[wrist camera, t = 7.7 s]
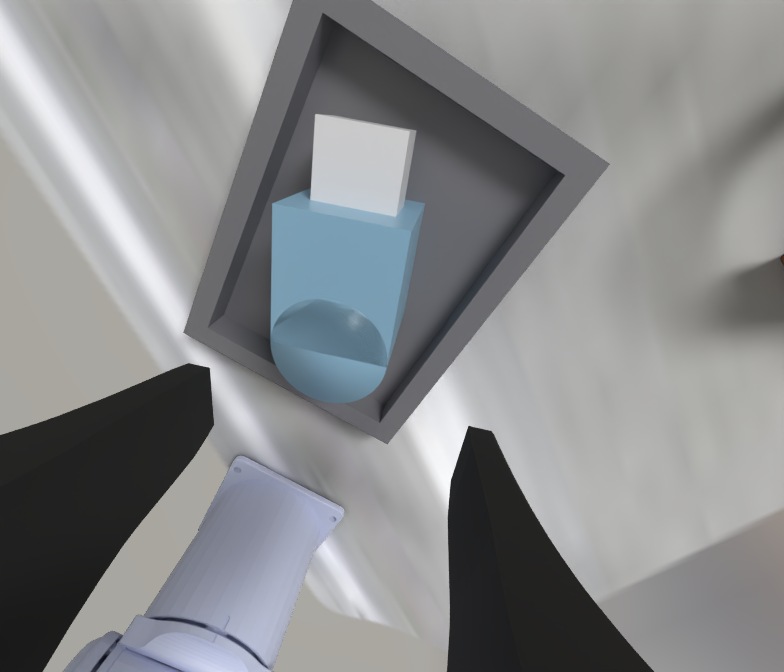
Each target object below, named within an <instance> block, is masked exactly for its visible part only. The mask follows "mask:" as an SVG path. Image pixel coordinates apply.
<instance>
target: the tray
mask: <svg viewBox="0 0 784 672" xmlns="http://www.w3.org/2000/svg"><path fill="white" fill-rule="evenodd" d="M315 114H323V115H334V116H339V117H345V118H350V119H356V120H361V121H367V122H372V123H378V124H383V125H389V126H394V127H399V128H405V129H410V130H416V136H415V142H414V148H413V154H412V160H411V166H410V172H409V178H408V184H407V190H406V196H405V200H411V201H416V202H421V203H425V206H424V212H423V217H422V222H421V227H420V233H419V238H418V243H417V248H416V253H415V259H414V264H413V269H412V274H411V279H410V285H409V290H408V295H407V300H406V306H405V311H404V315H403V318H402V321H401V325H400V328H399V331H398V334H397V337H396V340H395V344H394V347H393V350H392V353H391V356H390V359H389V363H388V366H387V369H386V372H385V375H384V377H383V379H382V381H381V383H380V384H379V386H378V387H377V388H376V389H375V390H374V391H373V392H372V393H370V394H369V395H367V396H366V397H364V398H362V399H359V400H357V401H353V402H348V403H328V402H323V401H319V400H316V399H314V398H311V397H309V396H307V395H305V394H303V393H302V392H300V391H298V390H297V389H296V388H294V387H293V386H292V385H291V384H290V383H289V382H288V381H287V380H286V379H285V378H284V377H283V375H282V374H281V373H280V371H279V369H278V368H277V366H276V364H275V362H274V359H273V356H272V351H271V267H272V203H275V202H277V201H279V200H282V199H284V198H287V197H289V196H292V195H294V194H297V193H299V192H302V191H304V190H307V189H309V188H311V178H312V161H313V143H314V126H315ZM609 165H610V164H609V163H608V162H606V161H605V160H603V159H602V158H600V157H599V156H597V155H596V154H594V153H593V152H592V151H590V150H589V149H587V148H586V147H584V146H583V145H581V144H580V143H578V142H577V141H575V140H574V139H573V138H571V137H570V136H568V135H567V134H565V133H564V132H562V131H561V130H559V129H558V128H557V127H555V126H554V125H552V124H551V123H549V122H548V121H546V120H545V119H543V118H542V117H540V116H539V115H538V114H536V113H535V112H533V111H532V110H530V109H529V108H527V107H526V106H524V105H523V104H521V103H520V102H519V101H517V100H516V99H514V98H513V97H511V96H510V95H508V94H507V93H505V92H504V91H503V90H501V89H500V88H498V87H497V86H495V85H494V84H492V83H491V82H489V81H488V80H486V79H485V78H484V77H482V76H481V75H479V74H478V73H476V72H475V71H473V70H472V69H470V68H469V67H467V66H466V65H465V64H463V63H462V62H460V61H459V60H457V59H456V58H454V57H453V56H451V55H450V54H449V53H447V52H446V51H444V50H443V49H441V48H440V47H438V46H437V45H435V44H434V43H432V42H431V41H430V40H428V39H427V38H425V37H424V36H422V35H421V34H419V33H418V32H416V31H415V30H413V29H412V28H411V27H409V26H408V25H406V24H405V23H403V22H402V21H400V20H399V19H397V18H396V17H394V16H393V15H392V14H390V13H389V12H387V11H386V10H384V9H383V8H381V7H380V6H378V5H377V4H376V3H374V2H373V1H371V0H293V2H292V5H291V8H290V11H289V14H288V17H287V20H286V23H285V26H284V29H283V32H282V35H281V38H280V41H279V44H278V47H277V50H276V53H275V56H274V59H273V62H272V65H271V69H270V72H269V75H268V78H267V81H266V84H265V87H264V90H263V93H262V96H261V99H260V102H259V105H258V108H257V111H256V114H255V117H254V120H253V123H252V126H251V129H250V132H249V135H248V138H247V141H246V144H245V147H244V151H243V154H242V157H241V160H240V163H239V166H238V169H237V172H236V175H235V178H234V181H233V184H232V187H231V190H230V193H229V196H228V199H227V202H226V205H225V208H224V211H223V214H222V217H221V220H220V223H219V226H218V229H217V233H216V236H215V239H214V242H213V245H212V248H211V251H210V254H209V257H208V260H207V263H206V266H205V269H204V272H203V275H202V278H201V281H200V284H199V287H198V290H197V293H196V296H195V299H194V302H193V305H192V308H191V311H190V314H189V318H188V321H187V324H186V327H185V330H184V333H185V334H187V335H188V336H190V337H192V338H194V339H196V340H198V341H199V342H201V343H203V344H205V345H207V346H209V347H210V348H212V349H214V350H216V351H218V352H219V353H221V354H223V355H225V356H227V357H229V358H230V359H232V360H234V361H236V362H238V363H240V364H241V365H243V366H245V367H247V368H249V369H251V370H252V371H254V372H256V373H258V374H260V375H261V376H263V377H265V378H267V379H269V380H271V381H272V382H274V383H276V384H278V385H280V386H282V387H283V388H285V389H287V390H289V391H291V392H293V393H294V394H296V395H298V396H300V397H302V398H303V399H305V400H307V401H309V402H311V403H313V404H314V405H316V406H318V407H320V408H322V409H324V410H325V411H327V412H329V413H331V414H333V415H335V416H336V417H338V418H340V419H342V420H344V421H345V422H347V423H349V424H351V425H353V426H355V427H356V428H358V429H360V430H362V431H364V432H366V433H367V434H369V435H371V436H373V437H375V438H377V439H378V440H380V441H382V442H384V443H386V444H388V443H389V441H390V440H391V439H392V438H393V436H394V435H395V434H396V433H397V431H398V430H399V429H400V428H401V426H402V425H403V424H404V423H405V421H406V420H407V419H408V418H409V416H410V415H411V414H412V413H413V411H414V410H415V409H416V407H417V406H418V405H419V404H420V402H421V401H422V400H423V399H424V397H425V396H426V395H427V394H428V392H429V391H430V390H431V389H432V387H433V386H434V385H435V384H436V382H437V381H438V380H439V379H440V377H441V376H442V375H443V374H444V372H445V371H446V370H447V368H448V367H449V366H450V365H451V363H452V362H453V361H454V360H455V358H456V357H457V356H458V355H459V353H460V352H461V351H462V350H463V348H464V347H465V346H466V345H467V343H468V342H469V341H470V340H471V338H472V337H473V336H474V334H475V333H476V332H477V331H478V329H479V328H480V327H481V326H482V324H483V323H484V322H485V321H486V319H487V318H488V317H489V316H490V314H491V313H492V312H493V311H494V309H495V308H496V307H497V306H498V304H499V303H500V302H501V301H502V299H503V298H504V297H505V295H506V294H507V293H508V292H509V290H510V289H511V288H512V287H513V285H514V284H515V283H516V282H517V280H518V279H519V278H520V277H521V275H522V274H523V273H524V272H525V270H526V269H527V268H528V267H529V265H530V264H531V263H532V262H533V260H534V259H535V258H536V256H537V255H538V254H539V253H540V251H541V250H542V249H543V248H544V246H545V245H546V244H547V243H548V241H549V240H550V239H551V238H552V236H553V235H554V234H555V233H556V231H557V230H558V229H559V228H560V226H561V225H562V224H563V223H564V221H565V220H566V219H567V217H568V216H569V215H570V214H571V212H572V211H573V210H574V209H575V207H576V206H577V205H578V204H579V202H580V201H581V200H582V199H583V197H584V196H585V195H586V194H587V192H588V191H589V190H590V189H591V187H592V186H593V185H594V184H595V182H596V181H597V180H598V178H599V177H600V176H601V175H602V173H603V172H604V171H605V170H606V168H607V167H608V166H609Z"/></svg>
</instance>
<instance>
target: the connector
mask: <svg viewBox="0 0 784 672" xmlns="http://www.w3.org/2000/svg"><path fill="white" fill-rule="evenodd" d="M415 136H416V130H410V129H405V128H399V127H394V126H389V125H383V124H378V123H372V122H367V121H361V120H356V119H350V118H345V117H339V116H334V115H323V114H315V126H314V143H313V161H312V178H311V188H309V189H307V190H304V191H302V192H299V193H297V194H294V195H292V196H289V197H287V198H284V199H282V200H279V201H277V202H275V203H272V267H271V351H272V356H273V359H274V362H275V364H276V366H277V368H278V369H279V371H280V373H281V374H282V375H283V377H284V378H285V379H286V380H287V381H288V382H289V383H290V384H291V385H292V386H293V387H294V388H296V389H297V390H298V391H300V392H302V393H303V394H305V395H307V396H309V397H311V398H314V399H316V400H319V401H323V402H328V403H348V402H353V401H357V400H359V399H362V398H364V397H366V396H367V395H369V394H370V393H372V392H373V391H374V390H375V389H376V388H377V387H378V386H379V384H380V383H381V381H382V379H383V377H384V375H385V372H386V369H387V366H388V363H389V359H390V356H391V353H392V350H393V347H394V344H395V340H396V337H397V334H398V331H399V328H400V325H401V321H402V318H403V315H404V311H405V306H406V300H407V295H408V290H409V285H410V279H411V274H412V269H413V264H414V259H415V253H416V248H417V243H418V238H419V233H420V227H421V222H422V217H423V212H424V206H425V203H421V202H416V201H411V200H405V196H406V190H407V184H408V178H409V172H410V166H411V160H412V154H413V148H414V142H415Z"/></svg>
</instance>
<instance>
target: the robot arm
mask: <svg viewBox="0 0 784 672" xmlns="http://www.w3.org/2000/svg"><path fill="white" fill-rule="evenodd" d="M213 426H214V419H213V406H212V393H211V379H210V368H208V367H203V366H199V365H194V364H190V363H188V364H185V365H183V366H180V367H177V368H175V369H172V370H170V371H167V372H165V373H163V374H160V375H158V376H156V377H153V378H151V379H149V380H146V381H144V382H142V383H139V384H137V385H135V386H132V387H130V388H127V389H125V390H123V391H120V392H118V393H116V394H113V395H111V396H108V397H106V398H104V399H101V400H99V401H96V402H93V403H91V404H88V405H85V406H83V407H80V408H78V409H75V410H72V411H70V412H67V413H65V414H62V415H60V416H57V417H54V418H51V419H48V420H46V421H43V422H40V423H37V424H34V425H31V426H28V427H25V428H22V429H18V430H15V431H12V432H9V433H6V434H3V435H0V672H43V670H44V668H45V667H46V665H47V663H48V662H49V660H50V658H51V657H52V655H53V653H54V652H55V650H56V649H57V647H58V645H59V644H60V642H61V640H62V638H63V637H64V635H65V634H66V632H67V630H68V629H69V627H70V625H71V624H72V622H73V620H74V619H75V617H76V616H77V614H78V613H79V611H80V610H81V608H82V607H83V605H84V604H85V602H86V600H87V599H88V597H89V596H90V594H91V593H92V591H93V590H94V588H95V586H96V585H97V583H98V582H99V580H100V579H101V577H102V576H103V574H104V573H105V571H106V570H107V568H108V567H109V566H110V564H111V563H112V561H113V560H114V558H115V557H116V555H117V554H118V552H119V551H120V549H121V548H122V546H123V545H124V543H125V542H126V541H127V540H128V538H129V537H130V536H131V534H132V533H133V532H134V530H135V529H136V528H137V527H138V525H139V524H140V523H141V521H142V520H143V519H144V518H145V517H146V516H147V514H148V513H149V512H150V511H151V509H152V508H153V507H154V506H155V504H156V503H157V502H158V501H159V500H160V498H161V497H162V496H163V495H164V493H165V492H166V491H167V490H168V489H169V488H170V486H171V485H172V484H173V483H174V481H175V480H176V479H177V478H178V476H179V475H180V474H181V473H182V472H183V470H184V469H185V468H186V466H187V465H188V464H189V463H190V461H191V460H192V459H193V458H194V456H195V454H196V453H197V452H198V450H199V448H200V447H201V445H202V444H203V442H204V441H205V439H206V437H207V436H208V434H209V432H210V431H211V429H212V427H213ZM344 513H345V511H344V509H343V508H342V507H341V506H339V505H337V504H335V503H333V502H331V501H329V500H327V499H325V498H324V497H322V496H320V495H318V494H316V493H314V492H312V491H310V490H308V489H306V488H304V487H302V486H300V485H299V484H297V483H295V482H293V481H291V480H289V479H287V478H285V477H283V476H281V475H279V474H277V473H275V472H274V471H272V470H270V469H268V468H266V467H264V466H262V465H260V464H258V463H256V462H254V461H252V460H250V459H249V458H247V457H244V456H237V457H236V458H235V459H234V461H233V463H232V464H231V466H230V468H229V470H228V472H227V474H226V476H225V478H224V480H223V482H222V484H221V486H220V488H219V490H218V492H217V494H216V496H215V498H214V500H213V502H212V504H211V506H210V507H209V509H208V511H207V513H206V515H205V517H204V519H203V521H202V523H201V525H200V527H199V529H198V531H199V532H198V533H197V535H196V536H195V538H194V539H193V541H192V542H191V544H190V545H189V547H188V548H187V550H186V552H185V553H184V555H183V556H182V558H181V559H180V561H179V563H178V564H177V565H176V567H175V568H174V570H173V571H172V573H171V574H170V576H169V578H168V579H167V581H166V582H165V584H164V585H163V587H162V588H161V590H160V591H159V593H158V595H157V596H156V598H155V599H154V601H153V602H152V604H151V605H150V607H149V608H148V610H147V611H146V613H145V614H144V616H141V615H137V616H136V617H135V618H134V620H133V621H132V623H131V624H130V626H129V627H128V629H127V630H126V632H125V633H124V635H121V634H119V633H117V632H115V631H110V632H108V633H106V634H105V635H104V636H103V637H100V638H98V639H96V640H93V641H91V642H90V643H89V644H87V645H86V646H85V647H84V648H83V649H82V650H81V651H80V652H79V653H78V654H77V655H76V656H75V657H74V659H73V660H72V661H71V662H70V663H69V664H68V666H67V667H66V668H65V669H64V671H63V672H273V671H272V669H273V667H274V664H275V661H276V658H277V655H278V652H279V650H280V647H281V644H282V641H283V638H284V635H285V633H286V629H287V627H288V624H289V621H290V618H291V615H292V613H293V610H294V607H295V604H296V601H297V598H298V595H299V593H300V590H301V587H302V584H303V581H304V578H305V576H306V573H307V570H308V567H309V564H310V561H311V558H312V556H313V553H314V552H315V551H316V550H317V548H318V547H319V546H320V545H321V544H322V542H323V541H324V540H325V539H326V538H327V536H328V535H329V534H330V533H331V531H332V530H333V529H334V528H335V527H336V525H337V524H338V523H339V522H340V521H341V519H342V518H343V516H344ZM448 550H449V588H450V632H449V649H448V666H447V672H654V671H653V670H652V669H651V668H650V667H649V666H648V665H647V663H646V662H645V661H644V660H643V659H642V658H641V657H640V656H639V654H638V653H637V652H636V651H635V650H634V649H633V648H632V646H631V645H630V644H629V643H628V642H627V641H626V639H625V638H624V637H623V636H622V635H621V634H620V632H619V631H618V630H617V629H616V627H615V626H614V625H613V624H612V623H611V621H610V620H609V619H608V618H607V616H606V615H605V614H604V613H603V611H602V610H601V609H600V608H599V607H598V605H597V604H596V603H595V602H594V600H593V599H592V598H591V597H590V595H589V594H588V593H587V591H586V590H585V589H584V587H583V586H582V585H581V583H580V582H579V581H578V579H577V578H576V577H575V575H574V574H573V572H572V571H571V570H570V568H569V567H568V565H567V564H566V563H565V561H564V560H563V558H562V557H561V555H560V554H559V552H558V551H557V549H556V548H555V546H554V545H553V543H552V542H551V540H550V539H549V537H548V535H547V534H546V532H545V530H544V529H543V527H542V526H541V524H540V522H539V521H538V519H537V517H536V516H535V514H534V512H533V511H532V509H531V507H530V505H529V504H528V502H527V500H526V498H525V496H524V494H523V493H522V491H521V489H520V487H519V485H518V483H517V482H516V480H515V478H514V476H513V474H512V472H511V470H510V468H509V466H508V464H507V462H506V460H505V458H504V455H503V453H502V451H501V449H500V447H499V445H498V443H497V440H496V438H495V436H494V434H493V433H492V431H488V430H484V429H479V428H475V427H471V426H468V429H467V432H466V436H465V439H464V442H463V445H462V448H461V451H460V454H459V457H458V460H457V463H456V467H455V470H454V473H453V476H452V479H451V486H450V497H449V509H448Z"/></svg>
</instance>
